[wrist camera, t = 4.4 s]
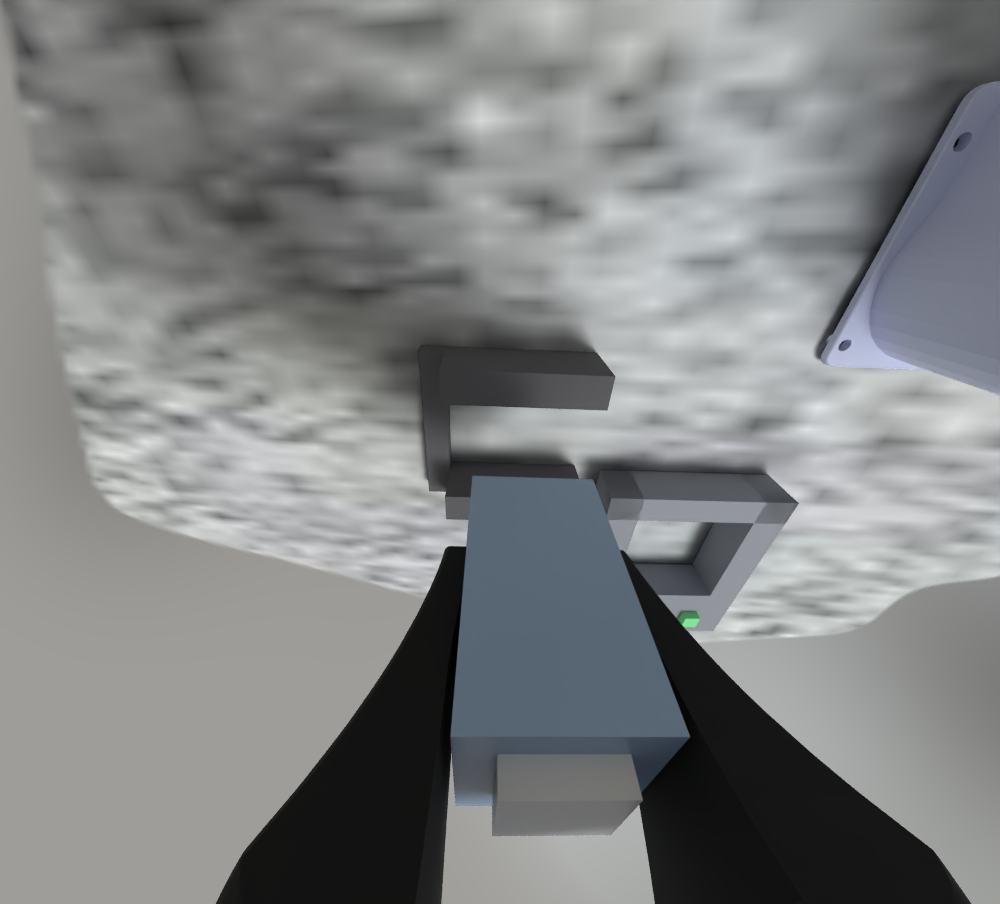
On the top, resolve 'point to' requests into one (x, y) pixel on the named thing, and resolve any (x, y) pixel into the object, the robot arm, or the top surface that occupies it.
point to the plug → (554, 666)
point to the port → (728, 546)
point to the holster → (506, 385)
